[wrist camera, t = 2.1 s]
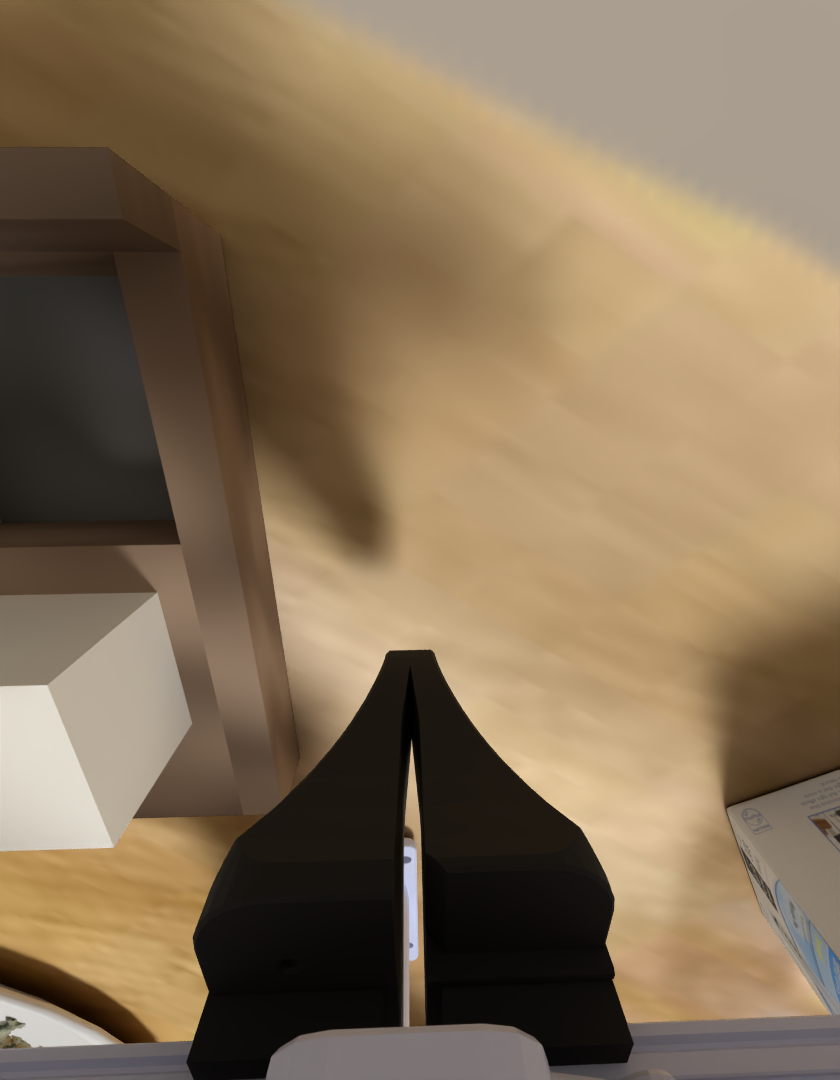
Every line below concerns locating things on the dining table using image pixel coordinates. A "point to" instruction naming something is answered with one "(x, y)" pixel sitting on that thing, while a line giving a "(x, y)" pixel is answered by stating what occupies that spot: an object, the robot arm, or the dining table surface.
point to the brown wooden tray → (140, 454)
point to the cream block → (83, 715)
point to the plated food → (43, 1024)
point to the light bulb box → (798, 874)
